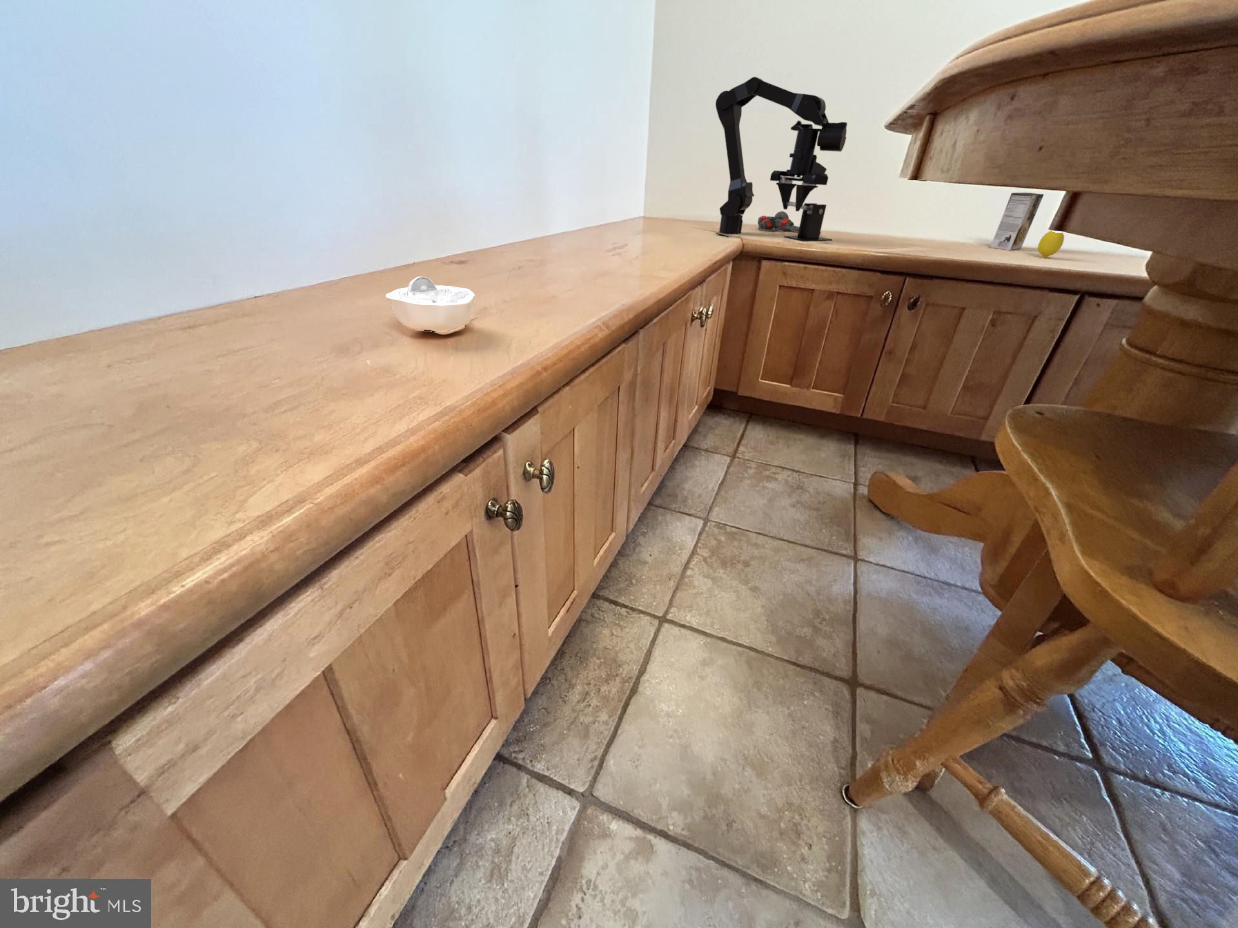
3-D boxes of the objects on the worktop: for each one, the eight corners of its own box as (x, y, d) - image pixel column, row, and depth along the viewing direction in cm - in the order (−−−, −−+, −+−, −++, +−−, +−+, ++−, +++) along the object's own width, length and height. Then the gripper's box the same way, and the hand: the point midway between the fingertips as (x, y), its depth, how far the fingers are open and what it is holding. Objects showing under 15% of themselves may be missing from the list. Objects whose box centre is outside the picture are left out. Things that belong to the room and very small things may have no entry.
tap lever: (795, 209, 149) (798, 200, 148) (784, 207, 153) (787, 198, 152) (821, 216, 154) (824, 208, 153) (809, 214, 158) (812, 206, 157)
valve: (739, 235, 182) (767, 227, 188) (798, 249, 165) (826, 240, 171) (741, 216, 178) (769, 208, 184) (801, 229, 161) (830, 220, 167)
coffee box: (1000, 246, 170) (1022, 192, 162) (1021, 248, 166) (1045, 193, 157) (988, 247, 165) (1010, 192, 157) (1010, 250, 161) (1034, 193, 152)
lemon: (1037, 258, 147) (1050, 229, 143) (1029, 255, 152) (1042, 227, 148) (1058, 260, 146) (1073, 230, 142) (1050, 257, 151) (1063, 228, 147)
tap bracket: (802, 244, 154) (810, 205, 149) (783, 240, 161) (790, 202, 155) (831, 243, 159) (840, 205, 153) (811, 239, 166) (819, 202, 160)
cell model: (428, 351, 60) (418, 293, 57) (379, 329, 67) (368, 276, 63) (496, 334, 67) (491, 281, 63) (446, 315, 74) (439, 267, 70)
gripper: (849, 152, 140) (833, 214, 148) (803, 151, 154) (790, 208, 162) (819, 149, 135) (804, 213, 143) (774, 149, 150) (763, 207, 158)
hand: (791, 210), depth 152 cm, fingers closed on tap lever, 5 cm apart
